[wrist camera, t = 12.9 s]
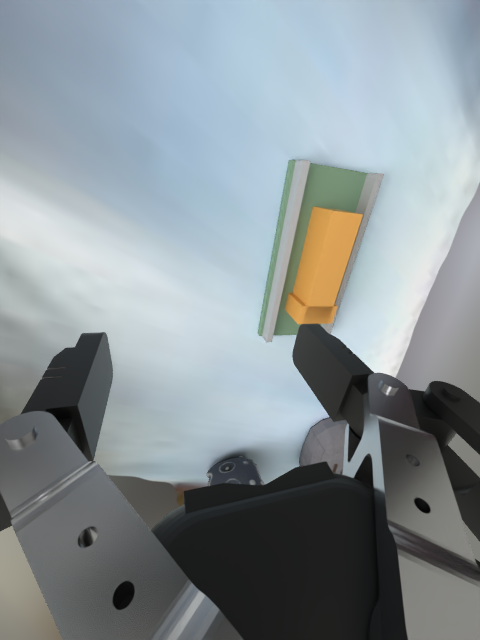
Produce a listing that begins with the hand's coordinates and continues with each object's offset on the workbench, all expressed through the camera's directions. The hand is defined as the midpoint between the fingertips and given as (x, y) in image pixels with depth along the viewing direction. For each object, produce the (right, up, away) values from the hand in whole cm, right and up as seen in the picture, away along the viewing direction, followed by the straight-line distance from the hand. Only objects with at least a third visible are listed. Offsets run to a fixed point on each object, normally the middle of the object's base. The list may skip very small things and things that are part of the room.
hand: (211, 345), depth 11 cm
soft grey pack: (+23, -30, +57) cm, 69 cm away
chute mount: (+12, +10, +30) cm, 34 cm away
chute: (+13, +10, +29) cm, 33 cm away
